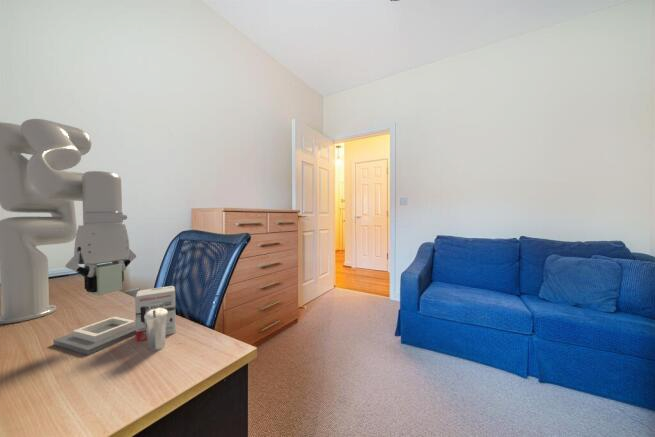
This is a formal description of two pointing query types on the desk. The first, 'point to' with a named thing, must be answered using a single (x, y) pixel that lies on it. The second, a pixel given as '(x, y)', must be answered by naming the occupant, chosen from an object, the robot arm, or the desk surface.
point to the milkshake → (156, 328)
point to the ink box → (152, 301)
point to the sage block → (108, 278)
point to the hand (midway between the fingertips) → (105, 287)
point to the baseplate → (98, 335)
